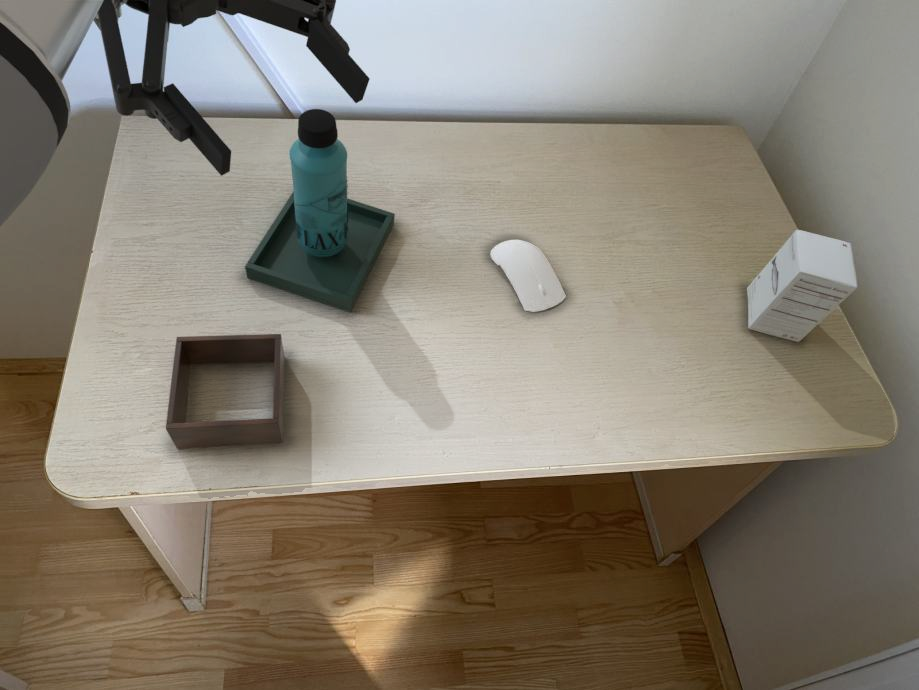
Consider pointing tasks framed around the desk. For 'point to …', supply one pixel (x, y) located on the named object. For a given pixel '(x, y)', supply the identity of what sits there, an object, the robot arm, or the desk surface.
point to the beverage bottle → (319, 184)
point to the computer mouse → (529, 274)
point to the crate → (218, 353)
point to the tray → (322, 276)
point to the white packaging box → (801, 285)
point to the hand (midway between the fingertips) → (299, 125)
